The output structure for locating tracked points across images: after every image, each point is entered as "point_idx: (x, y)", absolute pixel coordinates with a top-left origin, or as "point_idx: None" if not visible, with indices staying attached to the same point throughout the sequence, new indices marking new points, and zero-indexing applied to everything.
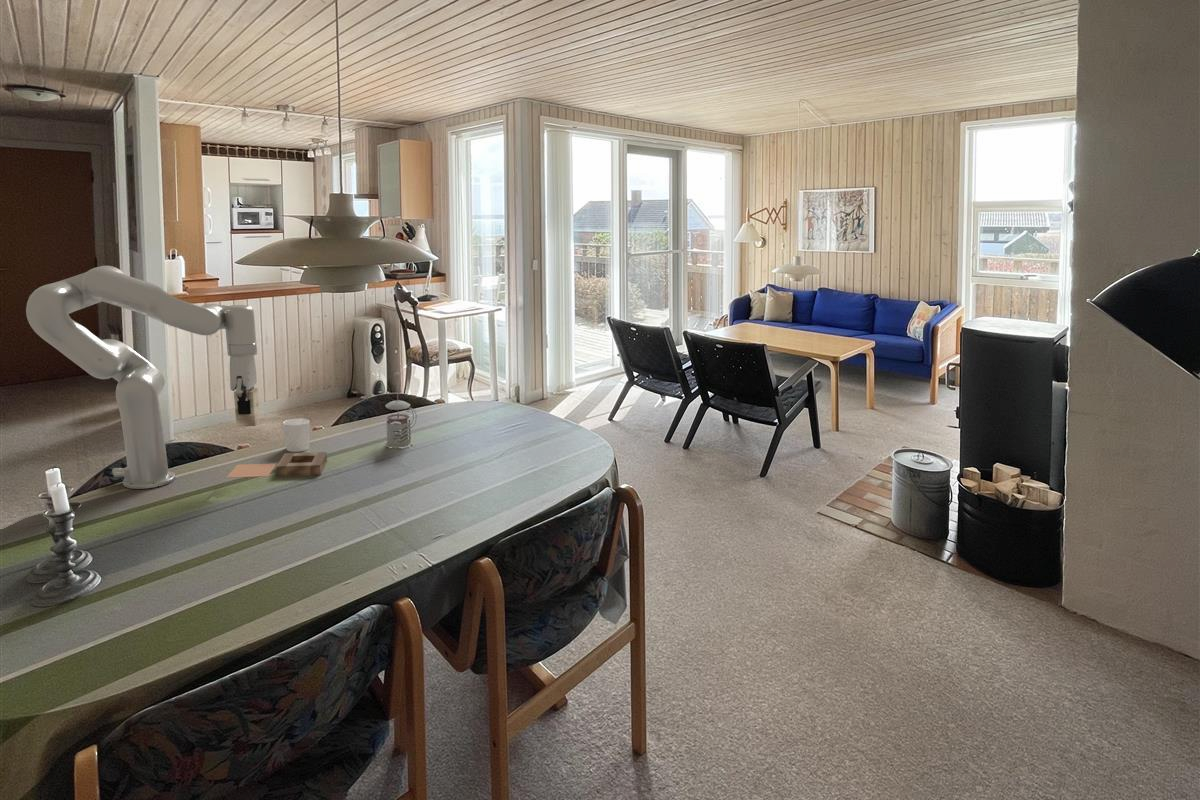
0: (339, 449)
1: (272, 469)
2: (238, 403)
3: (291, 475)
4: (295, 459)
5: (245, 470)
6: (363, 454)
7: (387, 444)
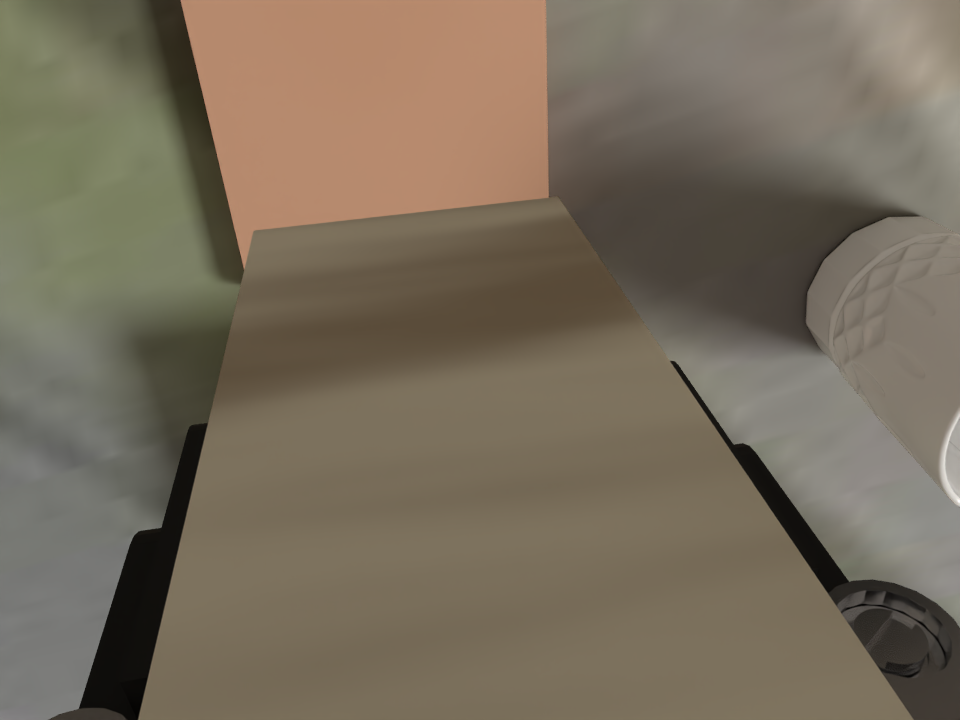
0: (843, 508)
1: None
2: (143, 633)
3: None
4: None
5: (375, 73)
6: None
7: None
